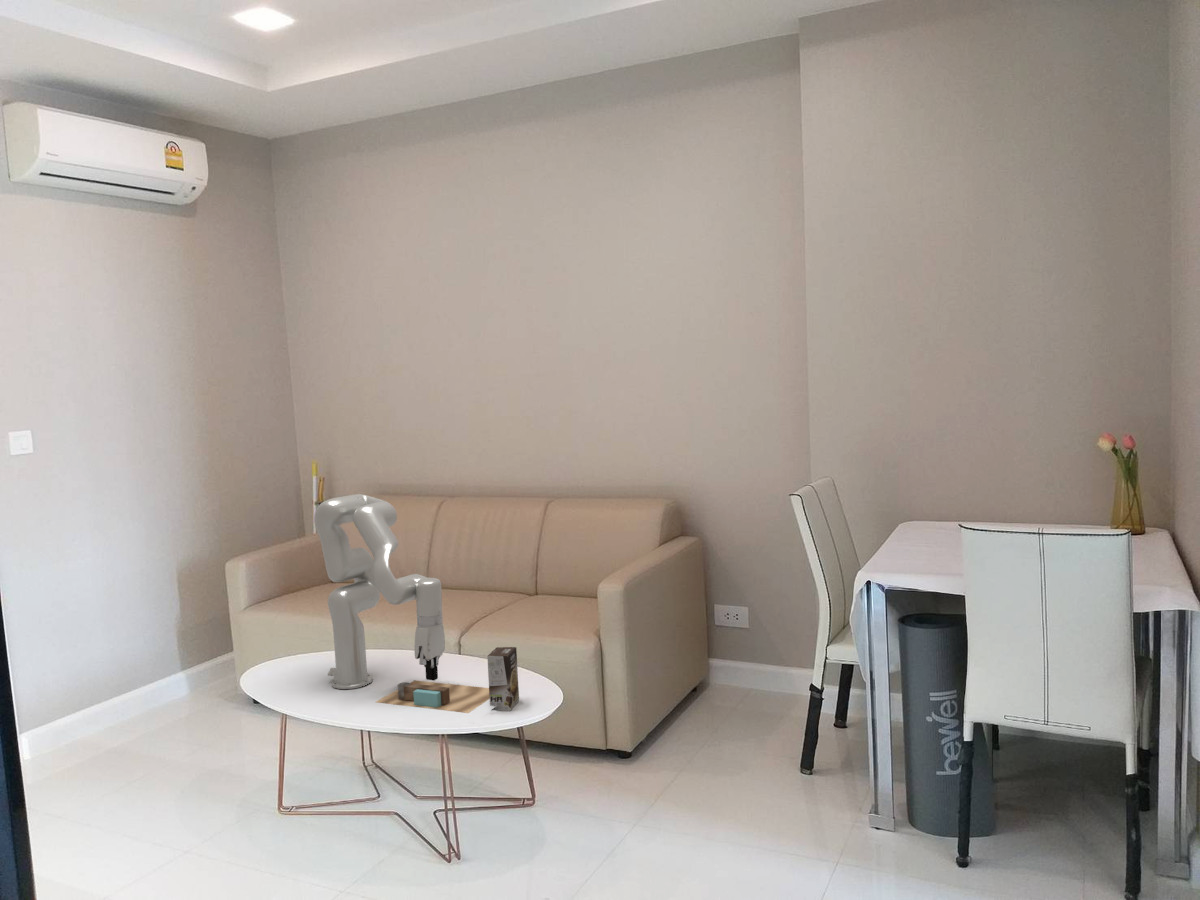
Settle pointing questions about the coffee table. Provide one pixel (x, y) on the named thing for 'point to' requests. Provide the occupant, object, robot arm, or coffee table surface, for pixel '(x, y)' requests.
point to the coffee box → (503, 678)
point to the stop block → (427, 698)
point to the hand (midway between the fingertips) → (431, 679)
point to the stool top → (459, 701)
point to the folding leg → (407, 689)
